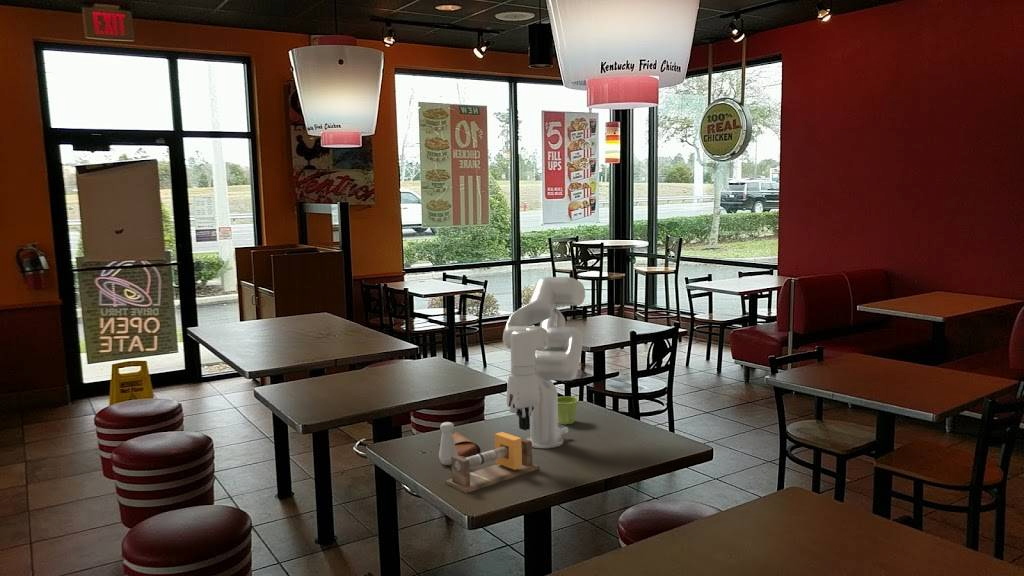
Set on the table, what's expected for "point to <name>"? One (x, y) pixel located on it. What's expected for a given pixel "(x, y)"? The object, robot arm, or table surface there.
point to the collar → (514, 450)
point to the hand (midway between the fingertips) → (524, 428)
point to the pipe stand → (488, 468)
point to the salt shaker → (447, 443)
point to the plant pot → (566, 409)
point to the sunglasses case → (464, 445)
